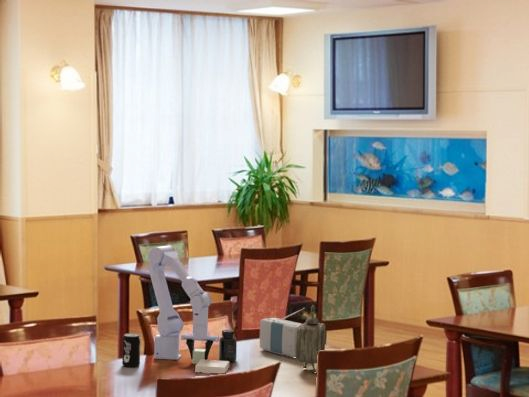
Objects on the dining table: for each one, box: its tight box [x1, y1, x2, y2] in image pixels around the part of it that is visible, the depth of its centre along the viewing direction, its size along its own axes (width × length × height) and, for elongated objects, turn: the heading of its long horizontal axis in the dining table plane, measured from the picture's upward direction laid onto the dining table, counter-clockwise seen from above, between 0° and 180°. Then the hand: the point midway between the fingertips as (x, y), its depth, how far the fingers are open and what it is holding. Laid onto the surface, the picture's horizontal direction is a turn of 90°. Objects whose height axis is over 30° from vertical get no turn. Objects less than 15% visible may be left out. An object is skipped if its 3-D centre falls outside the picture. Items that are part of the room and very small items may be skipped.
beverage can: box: [121, 332, 141, 368], centre depth 403 cm, size 7×7×12 cm
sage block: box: [191, 348, 206, 365], centre depth 412 cm, size 4×4×5 cm
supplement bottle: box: [218, 329, 238, 363], centre depth 417 cm, size 7×7×12 cm
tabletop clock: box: [295, 304, 326, 373], centre depth 405 cm, size 14×9×25 cm, turn 168°
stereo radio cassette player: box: [259, 307, 306, 358], centre depth 433 cm, size 21×8×20 cm, turn 42°
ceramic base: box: [194, 359, 230, 374], centre depth 401 cm, size 11×11×3 cm
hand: (199, 359), depth 412 cm, fingers open, 5 cm apart
